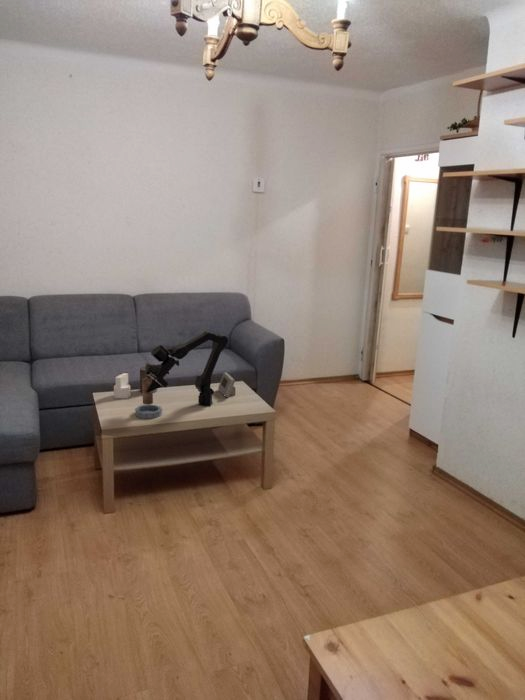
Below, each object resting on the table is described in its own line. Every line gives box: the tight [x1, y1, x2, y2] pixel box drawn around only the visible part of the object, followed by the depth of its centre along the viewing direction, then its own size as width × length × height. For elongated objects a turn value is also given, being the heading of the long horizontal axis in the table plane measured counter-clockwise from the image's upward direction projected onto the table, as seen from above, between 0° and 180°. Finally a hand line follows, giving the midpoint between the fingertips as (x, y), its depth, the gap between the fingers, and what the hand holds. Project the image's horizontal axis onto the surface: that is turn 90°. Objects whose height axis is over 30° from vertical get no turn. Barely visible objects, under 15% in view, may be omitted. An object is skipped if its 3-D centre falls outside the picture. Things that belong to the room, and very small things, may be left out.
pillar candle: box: [139, 365, 158, 394], centre depth 315 cm, size 10×10×15 cm
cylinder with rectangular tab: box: [113, 372, 132, 399], centre depth 305 cm, size 9×9×12 cm
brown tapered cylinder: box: [142, 378, 154, 405], centre depth 279 cm, size 5×5×12 cm
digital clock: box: [218, 371, 236, 398], centre depth 316 cm, size 16×9×11 cm, turn 9°
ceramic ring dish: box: [134, 404, 163, 420], centre depth 281 cm, size 13×13×3 cm
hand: (145, 390), depth 278 cm, fingers closed on brown tapered cylinder, 5 cm apart
